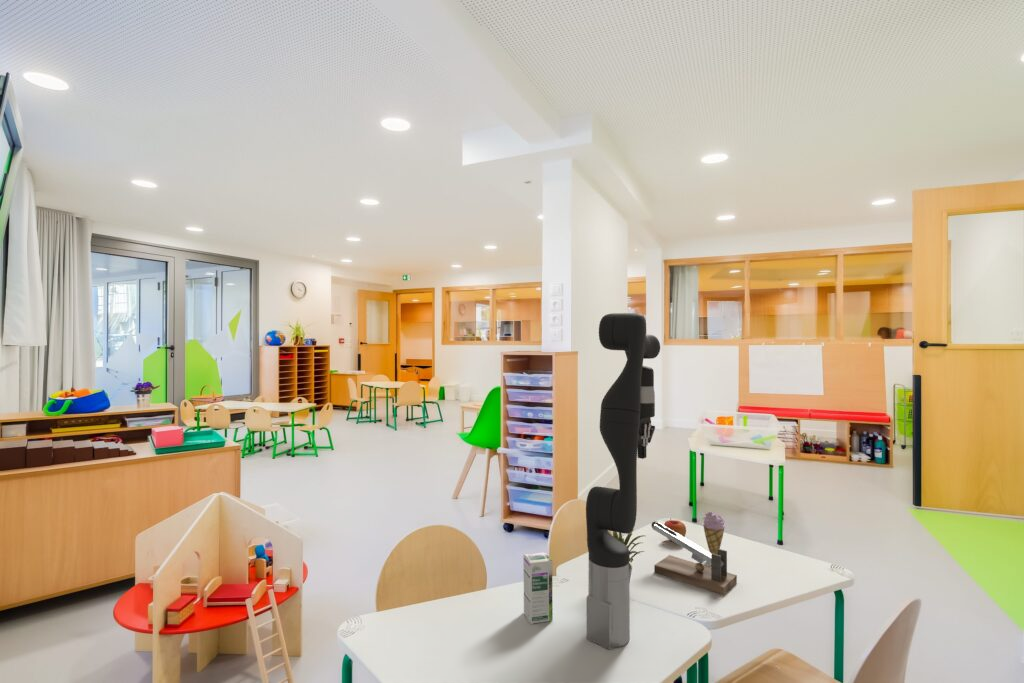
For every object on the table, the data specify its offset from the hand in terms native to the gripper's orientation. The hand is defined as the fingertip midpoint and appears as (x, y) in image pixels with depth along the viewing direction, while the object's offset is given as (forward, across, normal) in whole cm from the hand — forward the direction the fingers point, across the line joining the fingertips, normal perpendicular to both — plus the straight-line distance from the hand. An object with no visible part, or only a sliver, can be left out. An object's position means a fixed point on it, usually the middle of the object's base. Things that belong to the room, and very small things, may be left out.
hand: (642, 457), depth 147 cm
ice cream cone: (+33, +22, -13) cm, 42 cm away
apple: (+33, +27, +2) cm, 43 cm away
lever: (+26, +5, -11) cm, 29 cm away
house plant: (+33, -16, -3) cm, 37 cm away
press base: (+33, +5, -14) cm, 36 cm away
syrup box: (+33, -43, +5) cm, 55 cm away
